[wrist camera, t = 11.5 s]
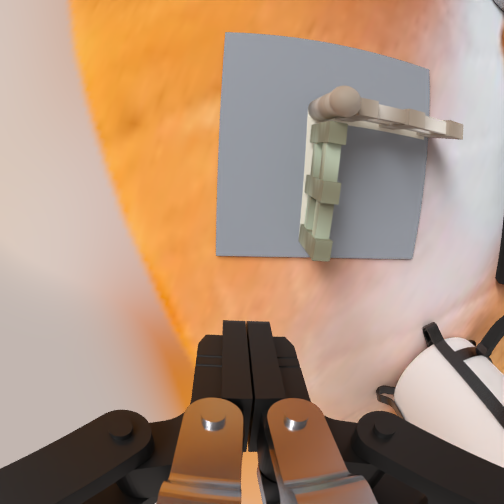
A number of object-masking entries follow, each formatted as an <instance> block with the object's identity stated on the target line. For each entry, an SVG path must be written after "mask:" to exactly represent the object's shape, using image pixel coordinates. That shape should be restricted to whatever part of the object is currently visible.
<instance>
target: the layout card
mask: <svg viewBox="0 0 504 504" xmlns="http://www.w3.org/2000/svg"><path fill="white" fill-rule="evenodd" d="M339 86H350V87H352V88H354V89H355V90H356V91H357V92H358V93H359V95H360V97H361V98H366V99H371V100H376V101H379V104H380V105H385V106H389V107H394V108H398V109H402V110H403V109H413V110H417V111H421V112H424V113H425V116H429V100H430V84H429V70H428V69H426V68H423V67H420V66H417V65H414V64H411V63H408V62H404V61H401V60H398V59H394V58H391V57H387V56H384V55H380V54H376V53H372V52H368V51H364V50H360V49H356V48H351V47H347V46H342V45H337V44H332V43H326V42H320V41H314V40H308V39H301V38H293V37H285V36H276V35H265V34H252V33H231V32H225V45H224V60H223V75H222V92H221V110H220V130H219V154H218V183H217V222H216V256H259V257H310V256H309V255H308V253H307V252H306V251H305V249H304V248H303V246H302V245H301V244H300V242H299V241H298V239H299V232H300V224H304V222H305V215H306V207H307V199H308V194H306V193H305V183H306V175H310V173H311V164H312V155H313V145H314V143H310V136H311V125H313V124H317V123H321V122H326V121H335V122H341V123H346V124H348V128H347V139H346V145H341V153H340V162H339V171H338V179H337V182H339V183H341V190H340V197H339V205H337V204H334V209H333V216H332V223H331V229H330V236H329V238H330V239H331V240H332V241H333V244H332V250H331V256H330V258H375V259H412V256H413V251H414V246H415V241H416V235H417V230H418V224H419V218H420V211H421V204H422V197H423V189H424V180H425V171H426V160H427V148H428V137H424V136H420V135H416V133H417V132H414V131H410V130H405V129H396V130H392V129H387V128H382V127H379V124H376V123H371V122H365V121H355V122H347V121H341V120H335V118H334V119H329V120H325V121H316V120H314V119H312V118H311V116H310V115H309V112H308V106H309V104H310V103H311V102H312V101H313V100H315V99H317V98H319V97H321V96H323V95H325V94H328V93H330V92H332V91H333V90H334V89H335V88H336V87H339Z"/></svg>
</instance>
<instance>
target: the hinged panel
mask: <svg viewBox="0 0 504 504" xmlns="http://www.w3.org/2000/svg"><path fill="white" fill-rule="evenodd" d="M347 128H348V124H346V123H341V122H335V121H326V122H321V123H317V124H313V125H311V136H310V143H314V145H313V155H312V164H311V173H310V175H306V183H305V193H306V194H308V199H307V207H306V215H305V222H304V224H300V232H299V239H298V241H299V242H300V244H301V245H302V246H303V248H304V249H305V251H306V252H307V253H308V255H309V256H310V258H311V259H312V260H313V261H330V256H331V250H332V244H333V241H332V240H331V239H330V238H329V236H330V229H331V223H332V216H333V209H334V204H337V205H339V197H340V190H341V183H339V182H337V179H338V171H339V162H340V153H341V145H346V139H347Z"/></svg>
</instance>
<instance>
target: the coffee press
mask: <svg viewBox="0 0 504 504" xmlns="http://www.w3.org/2000/svg"><path fill="white" fill-rule="evenodd" d="M423 334H424V337H425V339H426V342H427V347H428V348H427V349H425V350H424V351H423V352H421V353H420V354H419V355H418V356H417V357H416V358H415V359H414V360H413V361H412V362H411V363H410V364H409V365H408V367H407V368H406V369H405V370H404V372H403V373H402V375H401V377H400V379H399V380H398V383H397V385H396V387H389V386H380V387H378V388H377V390H376V394H377V400H378V401H380V402H382V403H385V404H388V405H390V406H391V407H393V409H394V410H395V412H396V413H397V415H398V417H400V418H402V419H404V420H406V421H408V422H410V423H411V424H413V425H415V426H417V427H419V428H421V429H423V430H425V431H427V432H429V433H431V434H433V435H435V436H437V437H439V438H441V439H443V440H445V441H447V442H449V443H451V444H453V445H455V446H457V447H459V448H461V449H463V450H465V451H467V452H470V453H472V454H474V455H476V456H478V457H480V458H483V459H485V460H487V461H489V462H492V463H494V464H496V465H498V466H501V467H503V468H504V375H503V374H502V373H501V372H500V371H499V370H498V369H497V368H496V367H495V366H494V365H493V363H492V360H491V359H490V358H489V356H490V355H491V353H492V351H493V349H494V348H495V346H496V345H497V344H498V342H499V341H500V340H501V338H502V337H503V336H504V316H503V317H501V318H500V319H499V320H498V321H496V323H495V324H494V325H493V326H492V327H491V328H490V330H489V331H488V332H487V334H486V335H485V336H484V338H483V339H482V341H481V342H480V343H479V344H478V345H477V347H476V342H475V341H473V340H469V341H468V340H466V339H463V338H459V337H453V338H447V339H444V338H443V337H442V335H441V333H440V330H439V328H438V326H437V325H436V323H435V322H432V323H430V324H428V325H426V326H424V327H423ZM382 393H387V394H394V401H393V400H392V399H390V398H388V397H386V396H383V395H380V394H382Z"/></svg>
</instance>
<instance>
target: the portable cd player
mask: <svg viewBox="0 0 504 504" xmlns="http://www.w3.org/2000/svg"><path fill="white" fill-rule="evenodd" d="M495 278H496V279H497V281H498V282H499V283H500V284H504V219H503V229H502V238H501V246H500V253H499V259H498V266H497V271H496V277H495Z"/></svg>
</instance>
